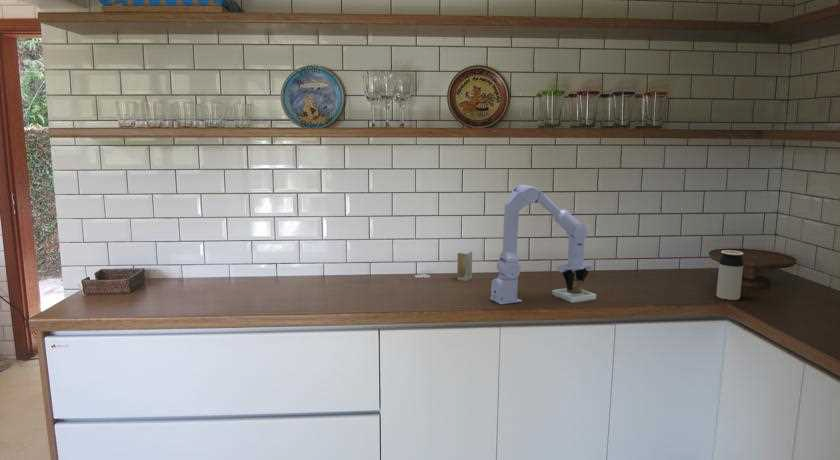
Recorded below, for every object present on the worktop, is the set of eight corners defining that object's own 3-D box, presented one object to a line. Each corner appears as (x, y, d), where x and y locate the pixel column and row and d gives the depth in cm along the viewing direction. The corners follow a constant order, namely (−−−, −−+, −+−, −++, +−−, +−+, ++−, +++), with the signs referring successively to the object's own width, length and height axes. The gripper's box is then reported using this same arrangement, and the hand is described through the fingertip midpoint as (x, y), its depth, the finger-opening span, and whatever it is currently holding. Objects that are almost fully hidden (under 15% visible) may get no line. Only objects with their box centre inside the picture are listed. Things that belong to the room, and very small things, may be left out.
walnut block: (573, 294, 210) (573, 281, 209) (566, 291, 214) (567, 279, 213) (581, 293, 212) (582, 280, 211) (575, 290, 215) (575, 278, 214)
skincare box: (463, 277, 244) (463, 249, 242) (472, 278, 242) (472, 251, 240) (456, 280, 239) (457, 252, 237) (465, 281, 236) (466, 253, 234)
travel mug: (739, 301, 208) (744, 254, 205) (715, 298, 212) (719, 252, 209) (740, 296, 215) (744, 251, 212) (716, 293, 219) (721, 249, 216)
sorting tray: (571, 303, 205) (571, 297, 205) (552, 295, 216) (552, 290, 216) (596, 299, 210) (596, 294, 210) (576, 292, 220) (576, 287, 220)
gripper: (566, 257, 204) (565, 293, 206) (598, 254, 209) (596, 289, 212) (555, 254, 210) (553, 288, 212) (585, 251, 216) (584, 285, 218)
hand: (574, 288), depth 212 cm, fingers closed on walnut block, 4 cm apart
